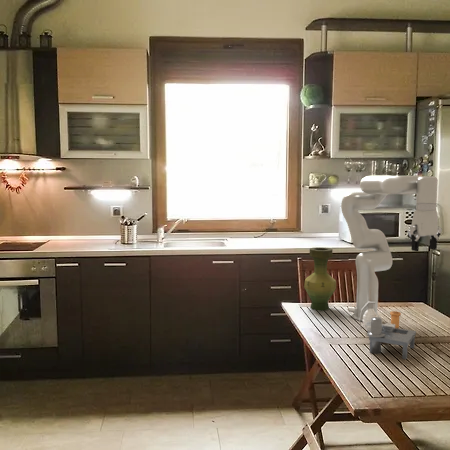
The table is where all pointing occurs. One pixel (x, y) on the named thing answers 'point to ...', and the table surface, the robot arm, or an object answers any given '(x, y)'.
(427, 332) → the table surface
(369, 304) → the hand grenade
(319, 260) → the vase
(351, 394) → the table surface
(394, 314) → the pin
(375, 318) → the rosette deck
